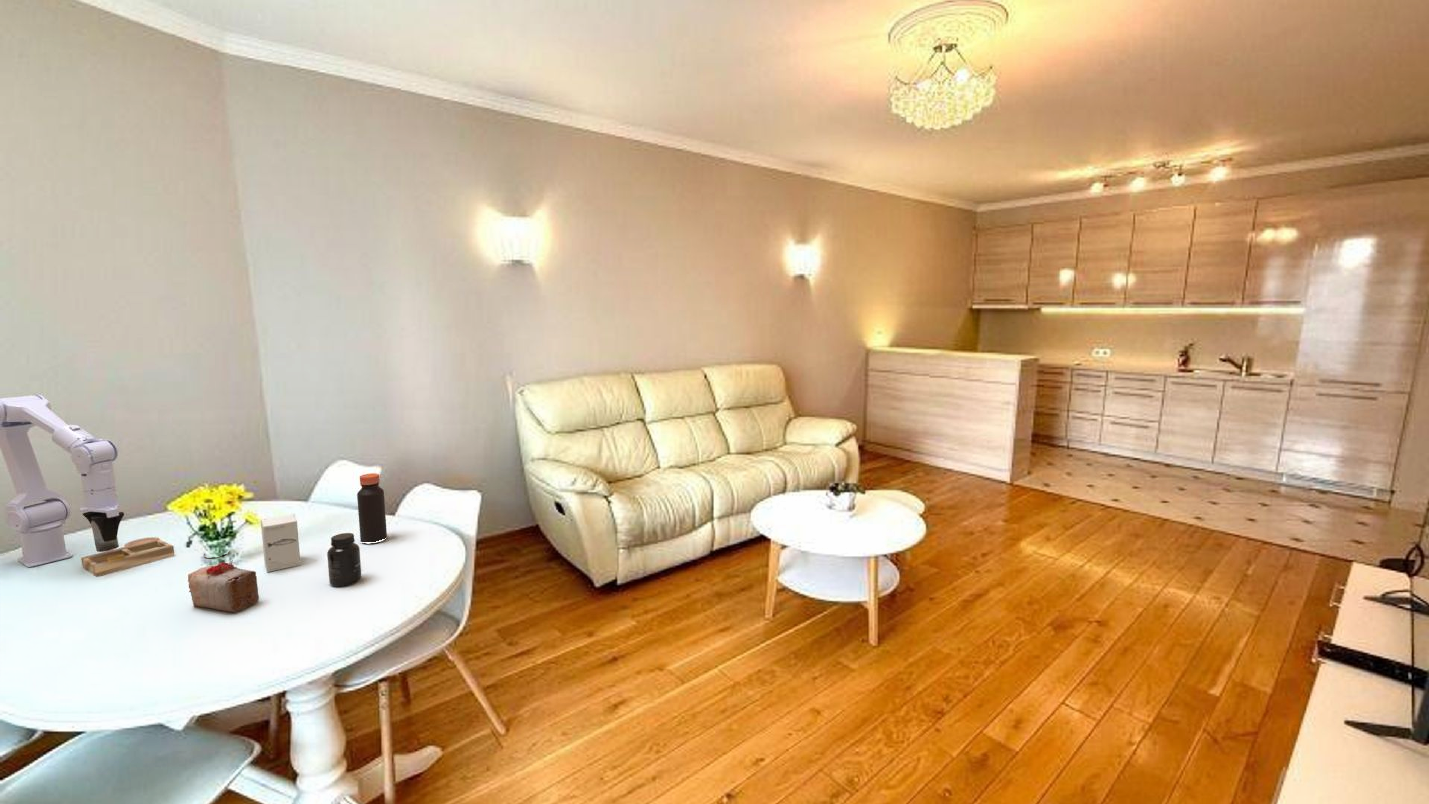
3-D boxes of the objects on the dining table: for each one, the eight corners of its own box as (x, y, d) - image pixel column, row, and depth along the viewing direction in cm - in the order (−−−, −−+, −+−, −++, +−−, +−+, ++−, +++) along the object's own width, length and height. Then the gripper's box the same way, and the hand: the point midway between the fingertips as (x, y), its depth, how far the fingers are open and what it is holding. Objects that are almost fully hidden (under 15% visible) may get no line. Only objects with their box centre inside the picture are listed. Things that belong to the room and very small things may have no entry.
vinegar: (378, 545, 165) (373, 479, 162) (355, 544, 165) (350, 478, 162) (391, 536, 172) (387, 472, 169) (369, 535, 172) (365, 472, 169)
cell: (94, 549, 146) (87, 518, 145) (115, 544, 150) (109, 513, 148) (99, 553, 144) (93, 521, 143) (121, 547, 148) (115, 516, 146)
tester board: (82, 567, 147) (80, 554, 146) (159, 548, 160) (157, 535, 159) (96, 576, 142) (94, 563, 142) (174, 555, 155) (173, 543, 155)
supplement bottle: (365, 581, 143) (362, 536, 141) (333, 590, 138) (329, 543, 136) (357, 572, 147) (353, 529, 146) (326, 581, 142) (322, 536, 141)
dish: (121, 550, 158) (120, 543, 157) (154, 542, 164) (153, 535, 164) (130, 555, 154) (129, 548, 154) (164, 547, 161) (163, 540, 160)
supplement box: (266, 573, 146) (261, 526, 144) (264, 563, 152) (259, 518, 150) (301, 565, 151) (297, 520, 149) (298, 556, 156) (294, 512, 155)
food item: (184, 608, 128) (179, 567, 127) (221, 592, 136) (217, 553, 135) (231, 616, 125) (226, 574, 124) (266, 599, 133) (262, 560, 132)
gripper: (67, 487, 145) (74, 538, 147) (87, 496, 138) (95, 549, 140) (105, 480, 151) (112, 529, 153) (127, 489, 144) (134, 540, 146)
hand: (107, 538), depth 147 cm, fingers closed on cell, 4 cm apart
